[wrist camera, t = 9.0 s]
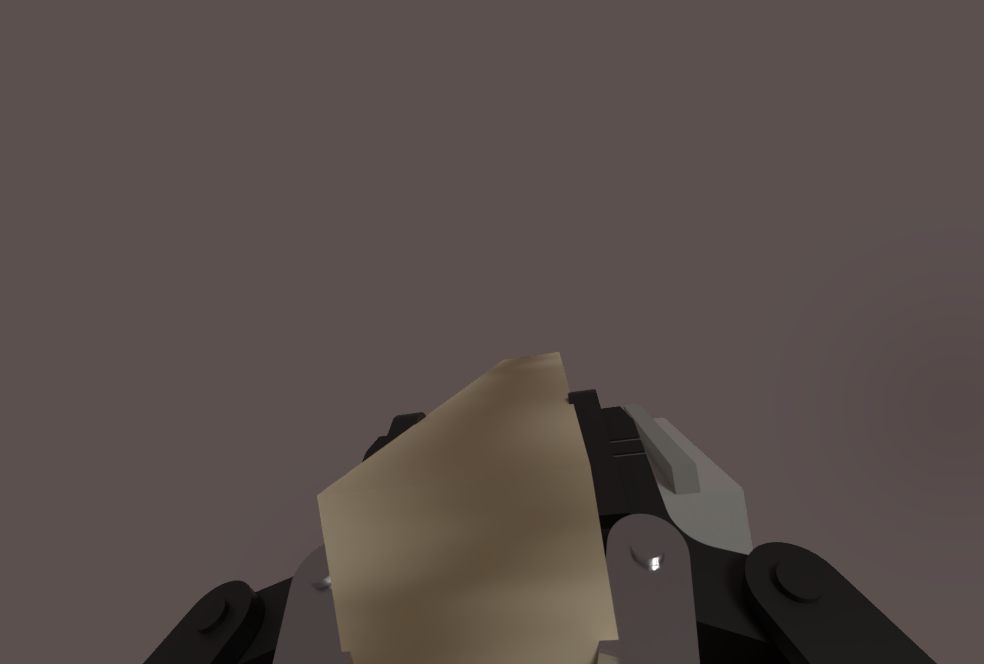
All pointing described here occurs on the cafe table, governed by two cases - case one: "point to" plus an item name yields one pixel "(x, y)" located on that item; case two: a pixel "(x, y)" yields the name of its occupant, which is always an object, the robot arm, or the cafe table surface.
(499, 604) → the birch bar
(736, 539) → the grey stand
